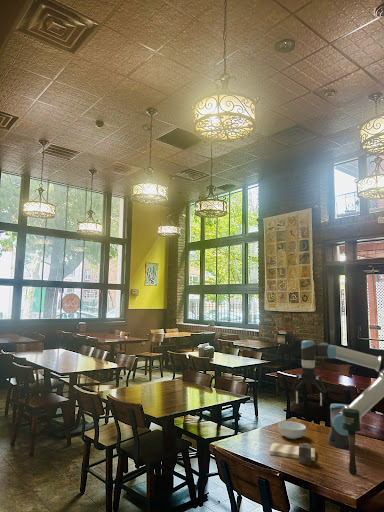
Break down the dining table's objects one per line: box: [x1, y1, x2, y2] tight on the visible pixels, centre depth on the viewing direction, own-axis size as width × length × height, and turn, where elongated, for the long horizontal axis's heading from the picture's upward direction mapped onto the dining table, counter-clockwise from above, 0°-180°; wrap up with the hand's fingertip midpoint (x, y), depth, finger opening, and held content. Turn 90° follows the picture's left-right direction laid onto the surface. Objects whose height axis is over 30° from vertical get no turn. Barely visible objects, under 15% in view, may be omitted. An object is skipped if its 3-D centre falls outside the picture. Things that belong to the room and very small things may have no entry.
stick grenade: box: [342, 409, 362, 475], centre depth 190 cm, size 8×9×30 cm
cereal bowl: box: [277, 420, 307, 440], centre depth 239 cm, size 17×17×7 cm
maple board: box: [269, 442, 316, 462], centre depth 212 cm, size 24×13×2 cm, turn 72°
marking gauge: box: [298, 442, 312, 466], centre depth 207 cm, size 6×18×8 cm, turn 162°
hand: (308, 404), depth 223 cm, fingers open, 13 cm apart
